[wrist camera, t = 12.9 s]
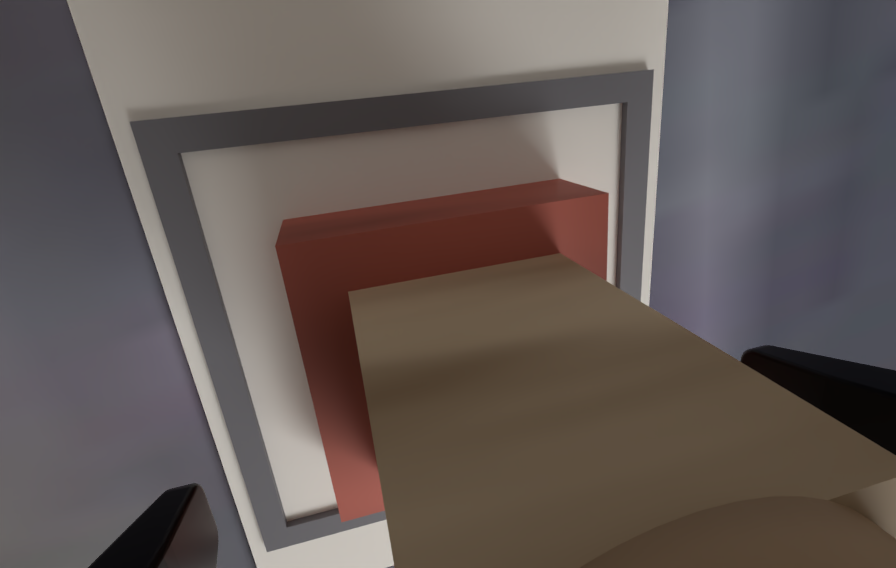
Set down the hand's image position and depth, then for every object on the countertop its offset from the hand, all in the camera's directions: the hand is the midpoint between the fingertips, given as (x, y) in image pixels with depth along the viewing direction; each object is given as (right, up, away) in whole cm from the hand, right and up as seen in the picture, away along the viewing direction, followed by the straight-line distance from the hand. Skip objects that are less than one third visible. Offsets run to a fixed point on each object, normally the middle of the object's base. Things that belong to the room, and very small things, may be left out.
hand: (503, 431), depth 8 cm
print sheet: (-1, +1, +4) cm, 4 cm away
